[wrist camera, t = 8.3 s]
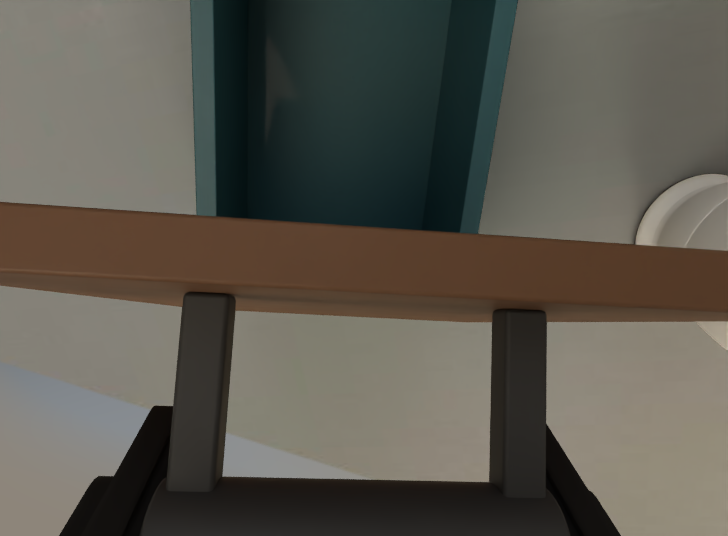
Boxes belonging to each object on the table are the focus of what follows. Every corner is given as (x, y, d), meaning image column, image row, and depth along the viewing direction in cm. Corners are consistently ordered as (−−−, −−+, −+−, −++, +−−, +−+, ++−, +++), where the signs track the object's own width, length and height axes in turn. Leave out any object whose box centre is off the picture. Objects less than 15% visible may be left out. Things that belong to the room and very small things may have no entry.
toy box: (234, -65, 26) (185, -141, 17) (469, -38, 27) (534, -96, 19) (235, 238, 32) (198, 295, 23) (429, 250, 33) (465, 310, 24)
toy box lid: (-196, 188, 5) (-304, 763, 5) (875, 259, 6) (909, 730, 6) (197, 291, 23) (186, 415, 22) (467, 305, 24) (464, 424, 23)
